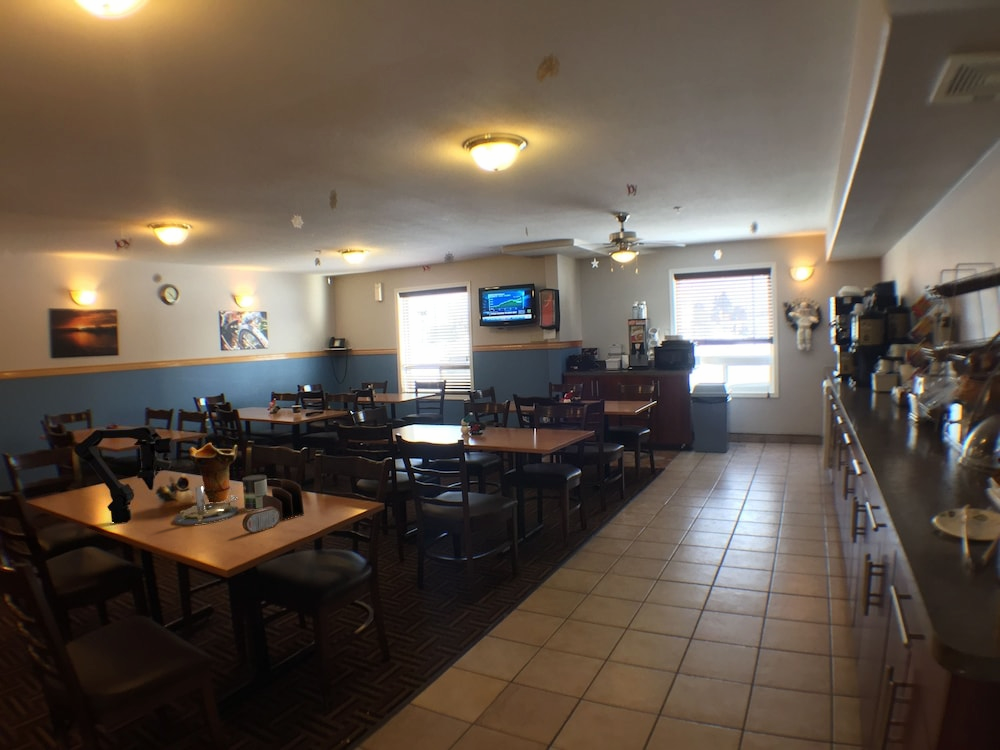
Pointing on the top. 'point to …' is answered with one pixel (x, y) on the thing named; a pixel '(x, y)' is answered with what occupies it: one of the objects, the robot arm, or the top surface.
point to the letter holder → (286, 499)
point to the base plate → (206, 518)
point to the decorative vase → (214, 470)
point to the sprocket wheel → (205, 507)
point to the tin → (261, 519)
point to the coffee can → (254, 491)
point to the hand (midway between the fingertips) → (151, 489)
